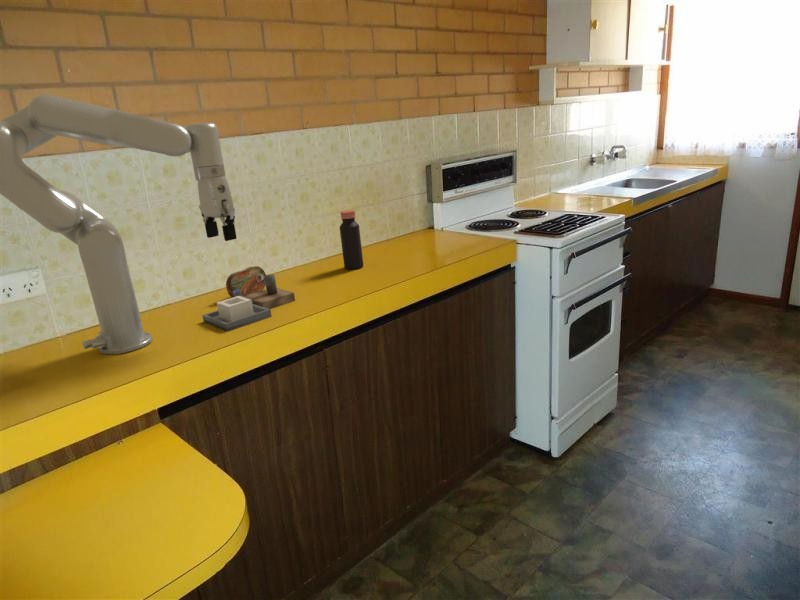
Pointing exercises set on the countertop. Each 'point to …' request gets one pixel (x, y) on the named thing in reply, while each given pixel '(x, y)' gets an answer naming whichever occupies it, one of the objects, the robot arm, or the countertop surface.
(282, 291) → the wooden stand
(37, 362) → the countertop surface
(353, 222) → the bottle
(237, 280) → the tin
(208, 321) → the tray
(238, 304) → the off-white open box
